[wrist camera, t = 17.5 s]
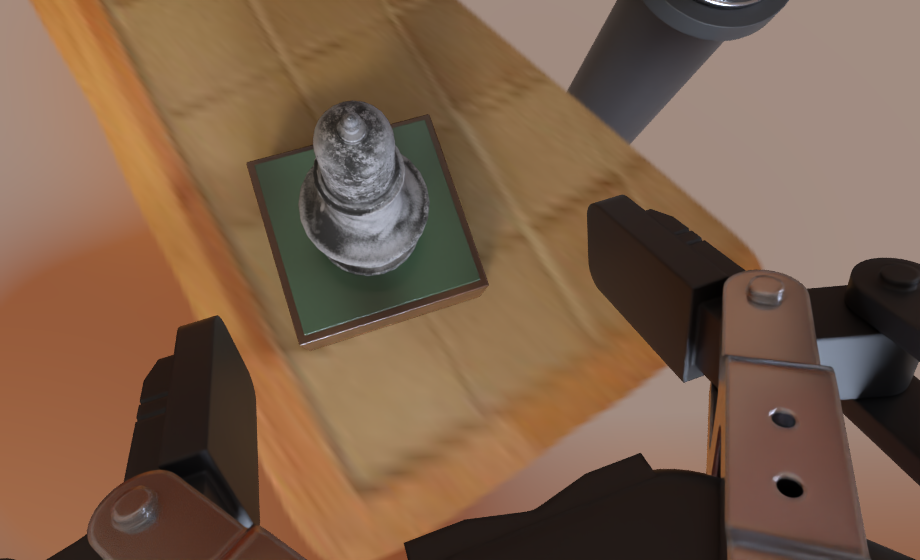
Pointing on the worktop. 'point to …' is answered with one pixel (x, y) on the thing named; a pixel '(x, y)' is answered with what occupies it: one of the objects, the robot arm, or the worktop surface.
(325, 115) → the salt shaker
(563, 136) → the worktop surface
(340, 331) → the walnut stand
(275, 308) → the worktop surface
